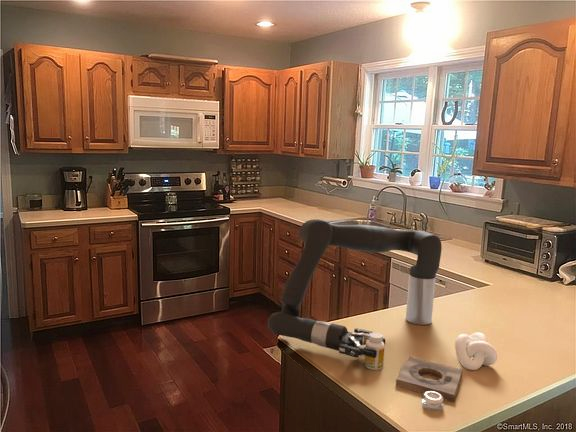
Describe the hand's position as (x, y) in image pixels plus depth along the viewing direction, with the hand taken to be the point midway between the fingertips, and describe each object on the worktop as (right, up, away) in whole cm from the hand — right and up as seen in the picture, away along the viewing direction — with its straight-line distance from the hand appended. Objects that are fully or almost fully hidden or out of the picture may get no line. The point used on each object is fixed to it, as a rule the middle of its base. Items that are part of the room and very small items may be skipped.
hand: (380, 348), depth 133 cm
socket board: (+12, -7, -5) cm, 16 cm away
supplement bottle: (-2, -6, +2) cm, 6 cm away
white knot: (+28, -6, +4) cm, 29 cm away
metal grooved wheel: (+9, -10, -17) cm, 22 cm away
